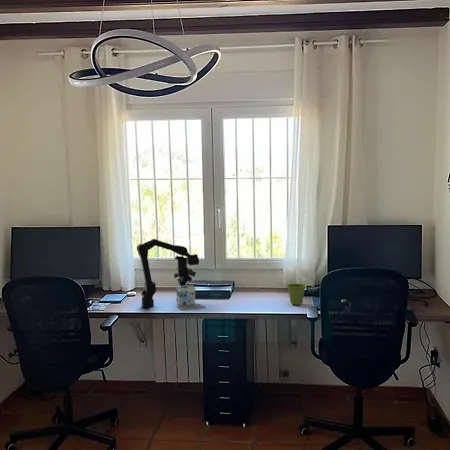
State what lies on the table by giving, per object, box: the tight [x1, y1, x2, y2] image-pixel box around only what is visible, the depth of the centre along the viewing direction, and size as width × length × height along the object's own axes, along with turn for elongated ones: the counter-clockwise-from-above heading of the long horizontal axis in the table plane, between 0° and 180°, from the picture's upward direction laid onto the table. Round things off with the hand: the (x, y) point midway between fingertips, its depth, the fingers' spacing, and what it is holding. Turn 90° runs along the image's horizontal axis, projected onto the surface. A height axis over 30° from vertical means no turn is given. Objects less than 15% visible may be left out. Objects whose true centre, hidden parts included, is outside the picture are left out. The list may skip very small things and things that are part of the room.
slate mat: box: [175, 303, 206, 311], centre depth 317 cm, size 15×11×1 cm
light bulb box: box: [176, 284, 196, 306], centre depth 324 cm, size 11×7×11 cm, turn 110°
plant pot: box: [286, 283, 307, 305], centre depth 320 cm, size 12×12×11 cm
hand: (183, 290), depth 328 cm, fingers closed
